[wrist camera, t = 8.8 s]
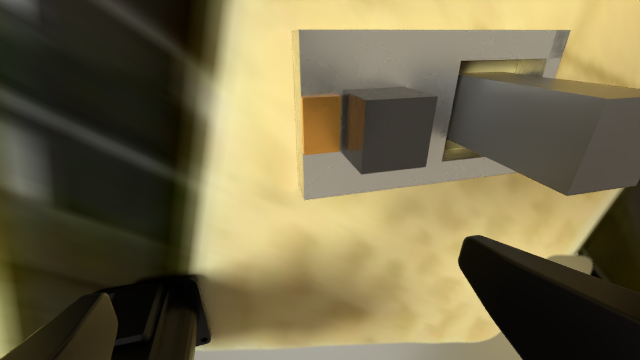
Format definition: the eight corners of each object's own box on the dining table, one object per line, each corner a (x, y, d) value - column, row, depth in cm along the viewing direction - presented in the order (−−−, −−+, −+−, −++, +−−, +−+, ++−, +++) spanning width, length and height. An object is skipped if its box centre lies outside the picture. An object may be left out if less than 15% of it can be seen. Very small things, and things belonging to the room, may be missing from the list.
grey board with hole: (501, 161, 23) (565, 190, 18) (298, 185, 19) (316, 228, 15) (539, 30, 19) (631, 28, 14) (291, 30, 15) (313, 27, 11)
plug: (487, 130, 21) (635, 185, 13) (438, 134, 20) (567, 195, 12) (502, 72, 19) (684, 94, 11) (450, 73, 18) (607, 99, 11)
